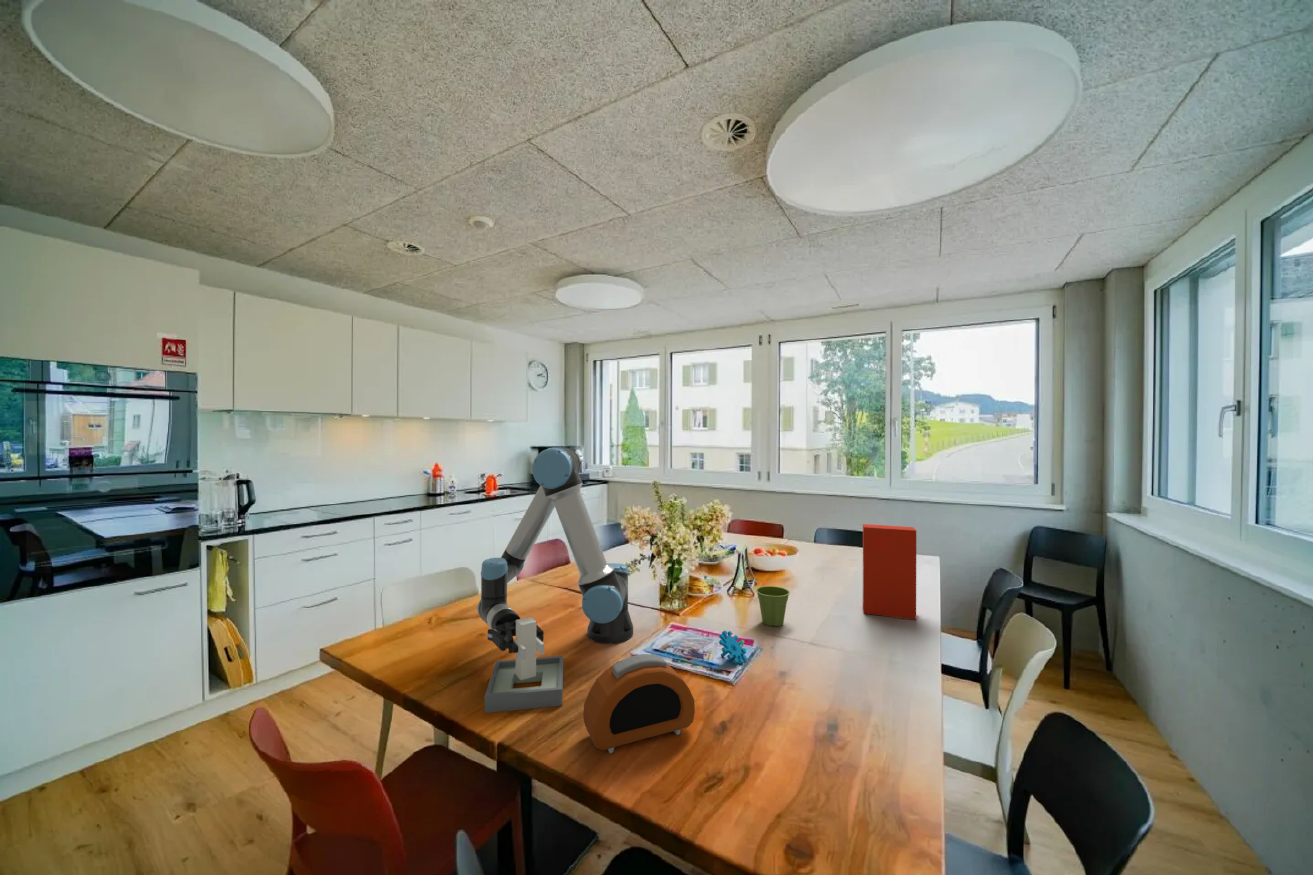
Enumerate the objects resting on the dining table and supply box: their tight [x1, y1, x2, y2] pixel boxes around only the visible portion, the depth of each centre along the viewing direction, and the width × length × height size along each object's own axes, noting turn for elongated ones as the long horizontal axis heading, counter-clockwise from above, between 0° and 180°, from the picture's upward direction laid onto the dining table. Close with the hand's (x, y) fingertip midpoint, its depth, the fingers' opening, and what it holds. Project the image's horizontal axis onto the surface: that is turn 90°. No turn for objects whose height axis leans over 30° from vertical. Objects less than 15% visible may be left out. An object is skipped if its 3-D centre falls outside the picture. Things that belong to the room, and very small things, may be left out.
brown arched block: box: [582, 653, 696, 754], centre depth 106 cm, size 23×9×17 cm, turn 114°
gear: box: [718, 630, 748, 665], centre depth 142 cm, size 11×6×10 cm
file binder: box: [862, 523, 917, 621], centre depth 178 cm, size 8×17×32 cm, turn 69°
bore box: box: [484, 655, 564, 714], centre depth 124 cm, size 18×18×4 cm
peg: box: [515, 616, 538, 680], centre depth 124 cm, size 4×4×14 cm
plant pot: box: [755, 585, 791, 627], centre depth 169 cm, size 12×12×11 cm
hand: (533, 651), depth 120 cm, fingers closed on peg, 4 cm apart
